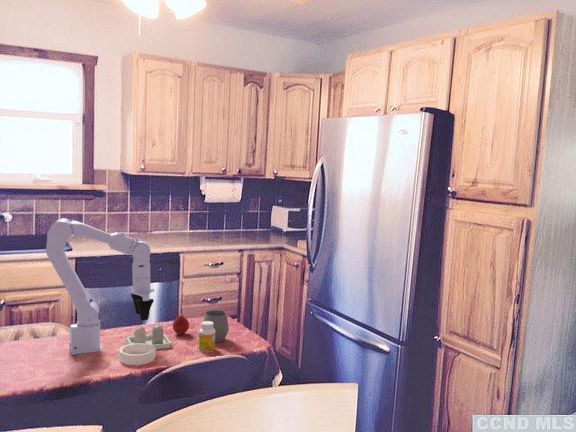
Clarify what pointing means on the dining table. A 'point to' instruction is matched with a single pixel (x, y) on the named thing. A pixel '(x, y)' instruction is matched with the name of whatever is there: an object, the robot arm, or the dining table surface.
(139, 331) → the stone
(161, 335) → the stone
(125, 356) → the bowl
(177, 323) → the onion
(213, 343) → the supplement bottle
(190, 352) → the dining table surface
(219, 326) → the cup
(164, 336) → the tray
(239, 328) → the dining table surface
